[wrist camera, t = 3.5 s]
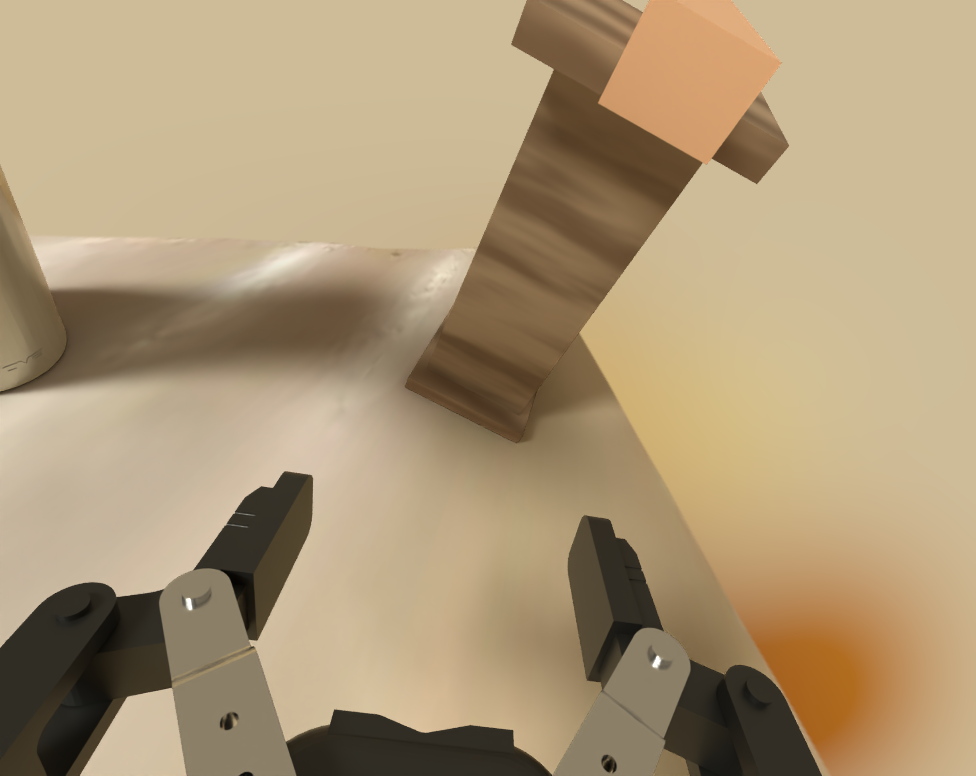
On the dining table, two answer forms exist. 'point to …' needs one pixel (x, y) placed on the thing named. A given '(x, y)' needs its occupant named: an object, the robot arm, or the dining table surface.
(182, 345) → the dining table surface
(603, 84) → the stand
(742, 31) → the block
